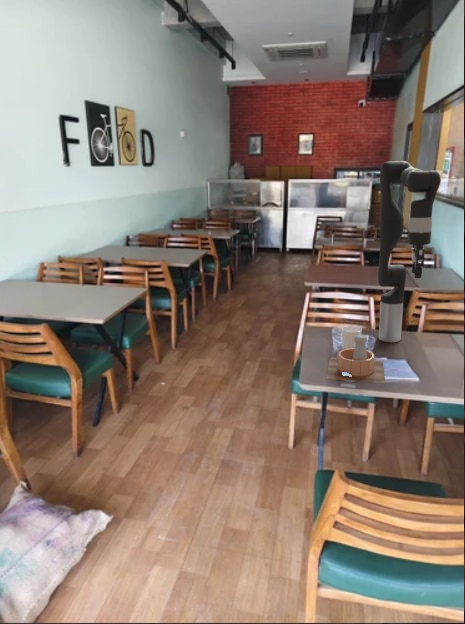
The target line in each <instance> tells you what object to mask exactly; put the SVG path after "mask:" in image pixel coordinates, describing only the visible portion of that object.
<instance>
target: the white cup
mask: <svg viewBox="0 0 465 624" xmlns="http://www.w3.org/2000/svg"><path fill="white" fill-rule="evenodd" d="M362 333H363V329H362V327H359V326H355V325H347V326H343V327H342V329H341V338H342V339H341V340H342V342H341V343H342V350H343V349H350V348H355V346H356V343H355V341H354V338H355V336H357V335H363V334H362Z"/></svg>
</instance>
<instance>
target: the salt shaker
mask: <svg viewBox="0 0 465 624" xmlns="http://www.w3.org/2000/svg"><path fill="white" fill-rule="evenodd" d="M354 341H355V343H356V346H355V350H354V354H353V358H352V360H367V354H366V350H367V348H366V343H367V342H368V338H367V337H366V336H365V335H363V334H362V335H357V336H355V338H354Z"/></svg>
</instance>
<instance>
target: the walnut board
mask: <svg viewBox="0 0 465 624" xmlns="http://www.w3.org/2000/svg"><path fill="white" fill-rule="evenodd" d="M384 366H385V365H384V361H383V360H374V370H373V373H372V374H371V375H368V376H363V377H354V376H352V377H349V376H343V375H342V373H341V372H340V371H339V370H338V357H330V358H329V360H328V366H327V373H326V379H325V380H335V381H349V382H350V381H351V382H360V383H361V382H362V383H375V384H384V385H385V384H386V377H385V376H386V375H385V367H384Z"/></svg>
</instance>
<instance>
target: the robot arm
mask: <svg viewBox="0 0 465 624" xmlns="http://www.w3.org/2000/svg"><path fill="white" fill-rule="evenodd" d="M379 172H380V173H379V182H380V186H379V187H380V216H379V218H380V219H379V222H380V223H379V236H380V237H379V242H380V243H379V258H378V271H377V281H378V285H379V286H380V287H383V288H389V287H390V288H391V287H393V288H392V289H390V290H389V291H388V292H385V293H382V294H381V295H380V305H379V306H380V307H379V322H378V323H379V324H378V325H379V326H378V339H379V341H382V342H385V343H397V342H400V341H401V339H402V337H401V336H402V324H403V311H404V297H405V288H406V279H407V270H406V267H405V265H404V264H389V260H390V256H391V254H392V252H393V250H394V249H395V247H396V246H397V245H398V243H399V241H400V240H401V238H402V236H403V234H404V228H405V227H404V226H405V224H404V223H405V219H404V215H403V212H402V211H401V209H400V208H399V206H398V204H397V203H396V201H395V199H394V197H393V194H392V190H391V186H397V185H403V186H404V187H405V188H406V189H407V191H408V192H409V193H414V194H415V193H416V194H417V193H418V194H419V193H425V194H424V196H423V197H422V198H419V199H414V200H412V201H411V202H410V210H409V211H410V212H409V213H410V214H409V220H408V229H407V231H408V232H407V244H408V245H411V247H412V248H411V259H410V260H411V263H412V265H411V266H412V267H411V273H412V274H414V278H415V279H422V274H423V267H424V266H425V254H426V249H424V246H426V245H430V244H431V241H432V231H433V230H432V227H433V221H432V220H433V219H432V218H433V207H434V203H435V202H434V201H435V199H436V195H437V193H438V190H439V187H440V185H441V181H442V180H441V179H442V177H441V175H440V173H439V171H438V170H422V169H420V168H415V167H413V166H412V165H411V163H409V162H407V161H406V160H396V161H395V160H394V161H392V160H391V161H384V162H383V163H381V166H380V171H379Z"/></svg>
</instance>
